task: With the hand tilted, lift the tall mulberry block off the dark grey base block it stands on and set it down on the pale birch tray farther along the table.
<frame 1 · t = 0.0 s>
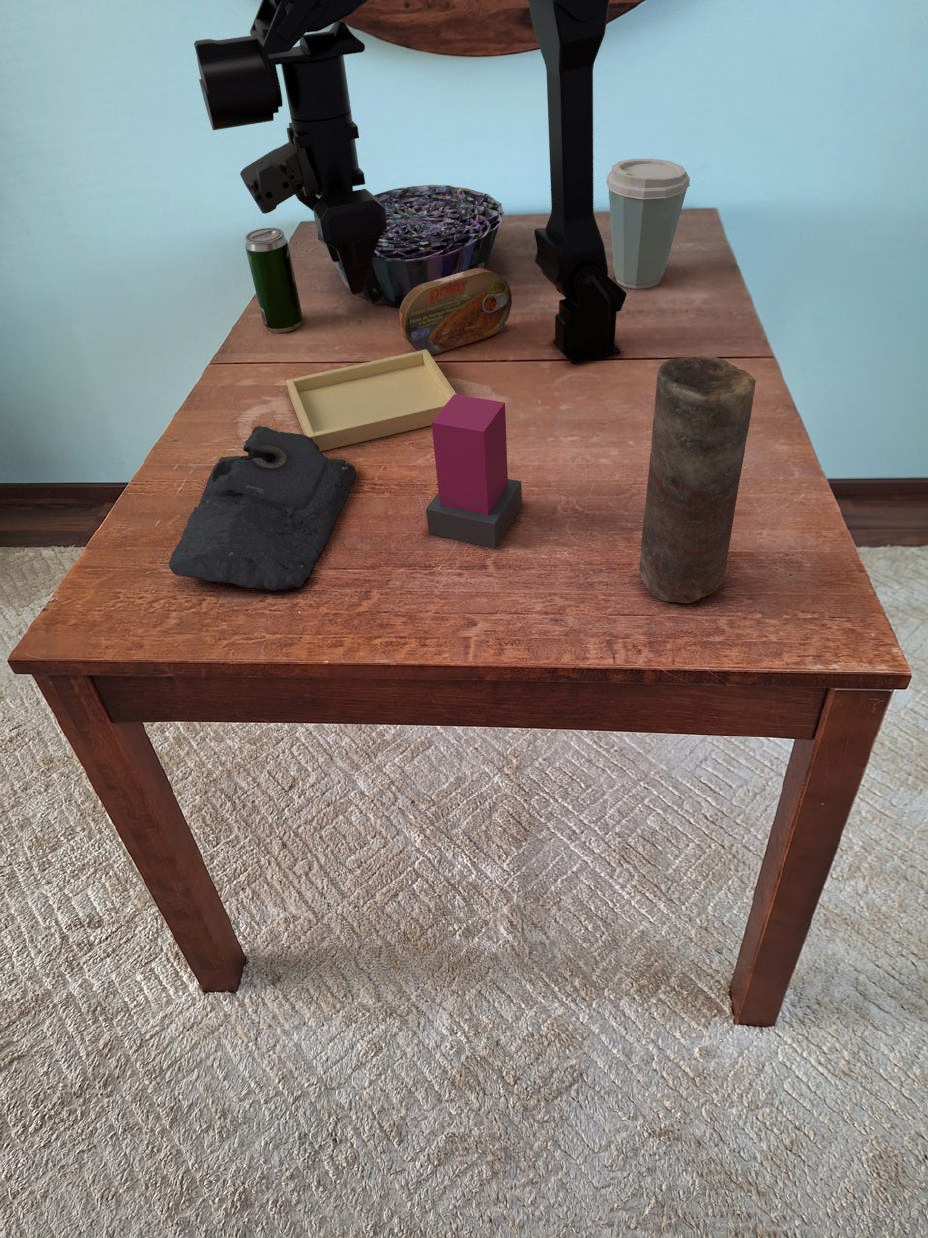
hand: (346, 276, 92), 15 cm above the table, tool pointing down, fingers open, 9 cm apart
tray: (373, 406, 101), on the table
stone cylinder vase: (679, 578, 77), on the table
tin: (457, 342, 112), on the table
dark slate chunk: (263, 522, 87), on the table
beer can: (284, 326, 118), on the table
disposable coffee cup: (640, 281, 121), on the table
mulberry block: (474, 494, 83), point 3 cm above the table, touching base block
decorative bowl: (416, 277, 127), on the table
base block: (475, 519, 85), on the table, touching mulberry block
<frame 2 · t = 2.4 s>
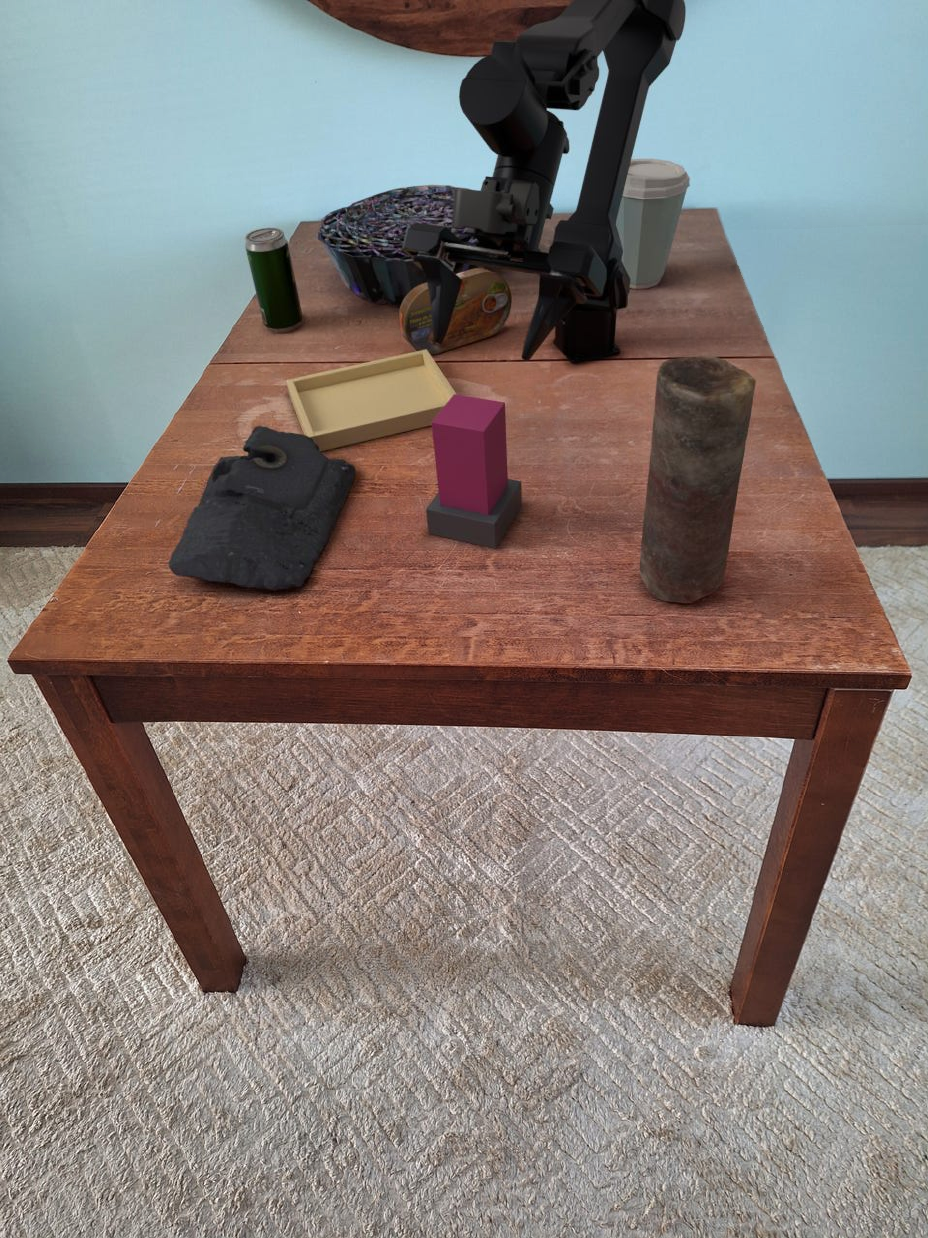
hand: (480, 351, 81), 13 cm above the table, tool tilted 40°, fingers open, 9 cm apart
nothing on the table moved.
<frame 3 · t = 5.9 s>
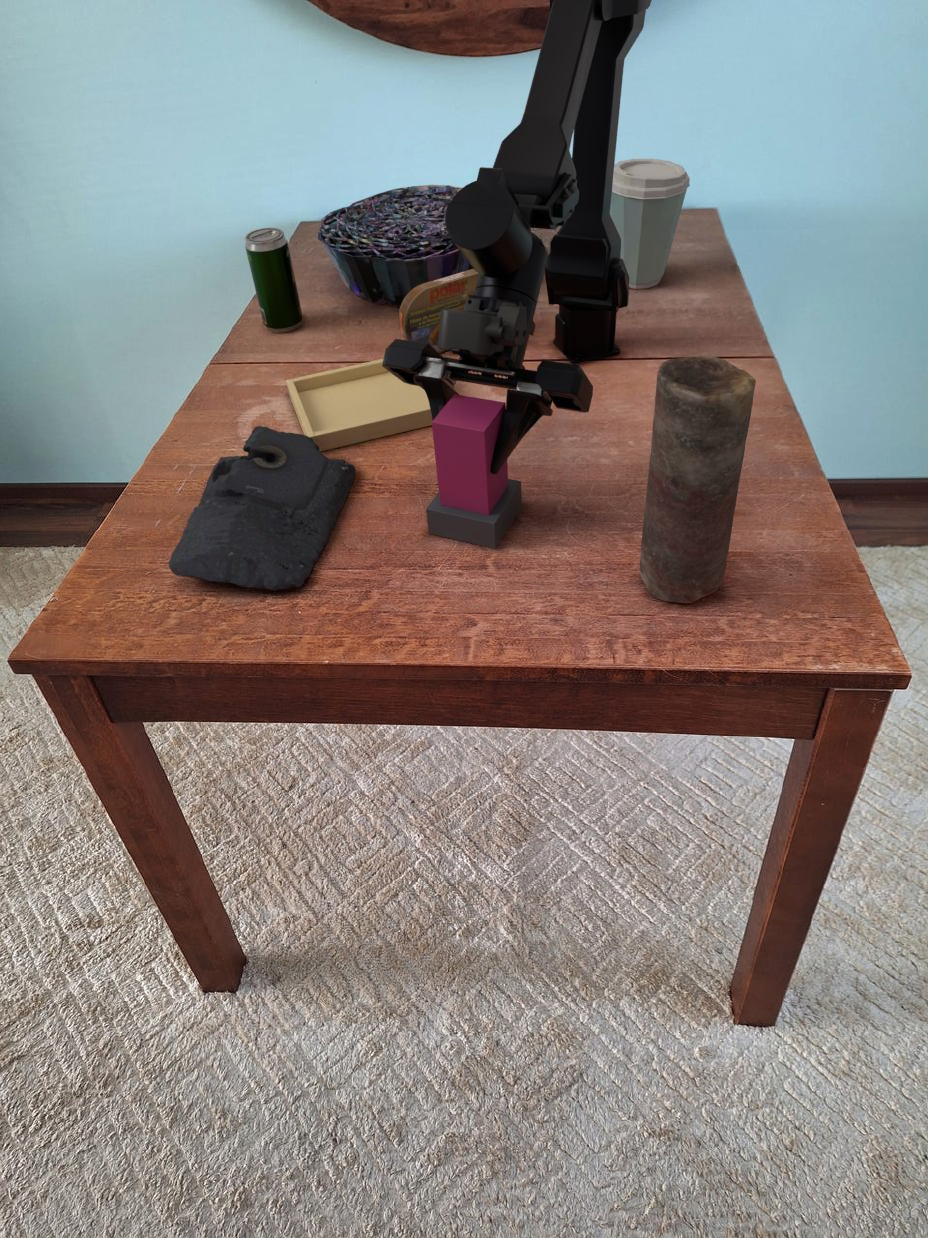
hand: (465, 467, 79), 7 cm above the table, tool tilted 45°, fingers closed on mulberry block, 5 cm apart
mulberry block: (474, 494, 83), point 3 cm above the table, touching base block, gripper
everything else where it was.
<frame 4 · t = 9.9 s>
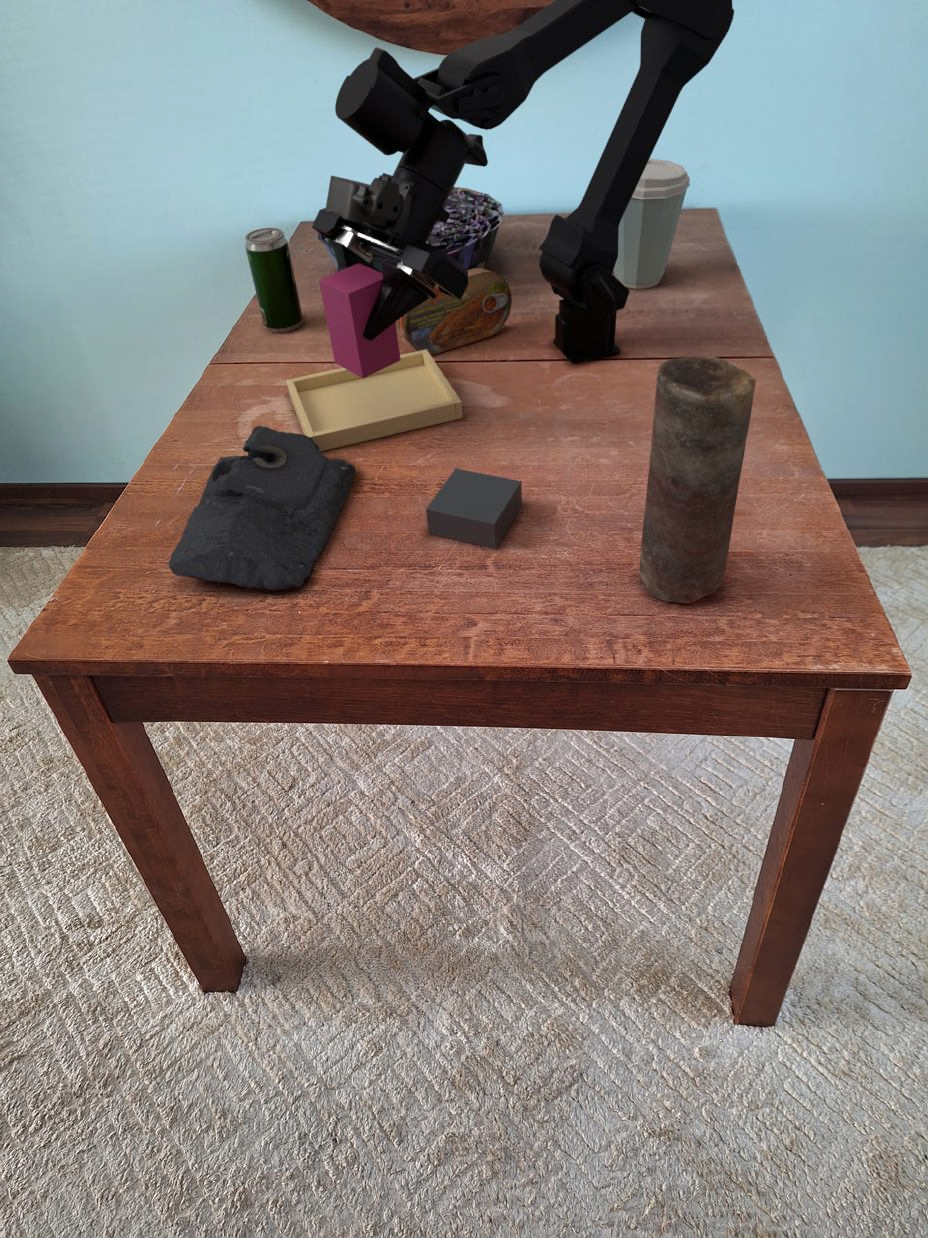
hand: (350, 330, 88), 13 cm above the table, tool tilted 45°, fingers closed on mulberry block, 5 cm apart
mulberry block: (367, 361, 91), point 9 cm above the table, touching gripper
base block: (475, 519, 85), on the table
everything else where it was.
when the fingers open (5 cm above the table, at t = 13.7 s): mulberry block stays where it is, resting on tray.
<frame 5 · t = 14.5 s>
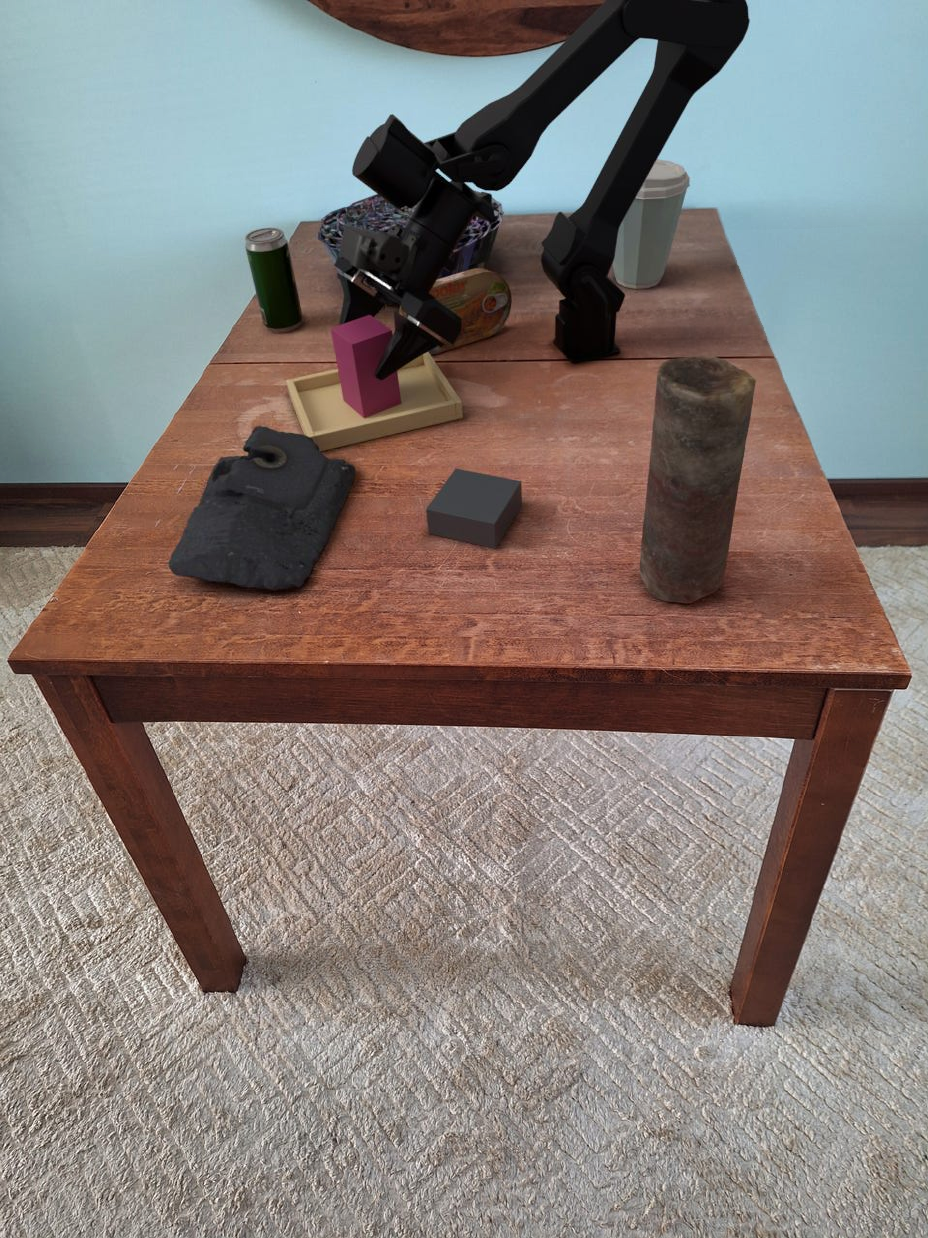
hand: (357, 362, 97), 6 cm above the table, tool tilted 45°, fingers open, 9 cm apart
mulberry block: (372, 402, 101), point 1 cm above the table, touching tray
everything else where it was.
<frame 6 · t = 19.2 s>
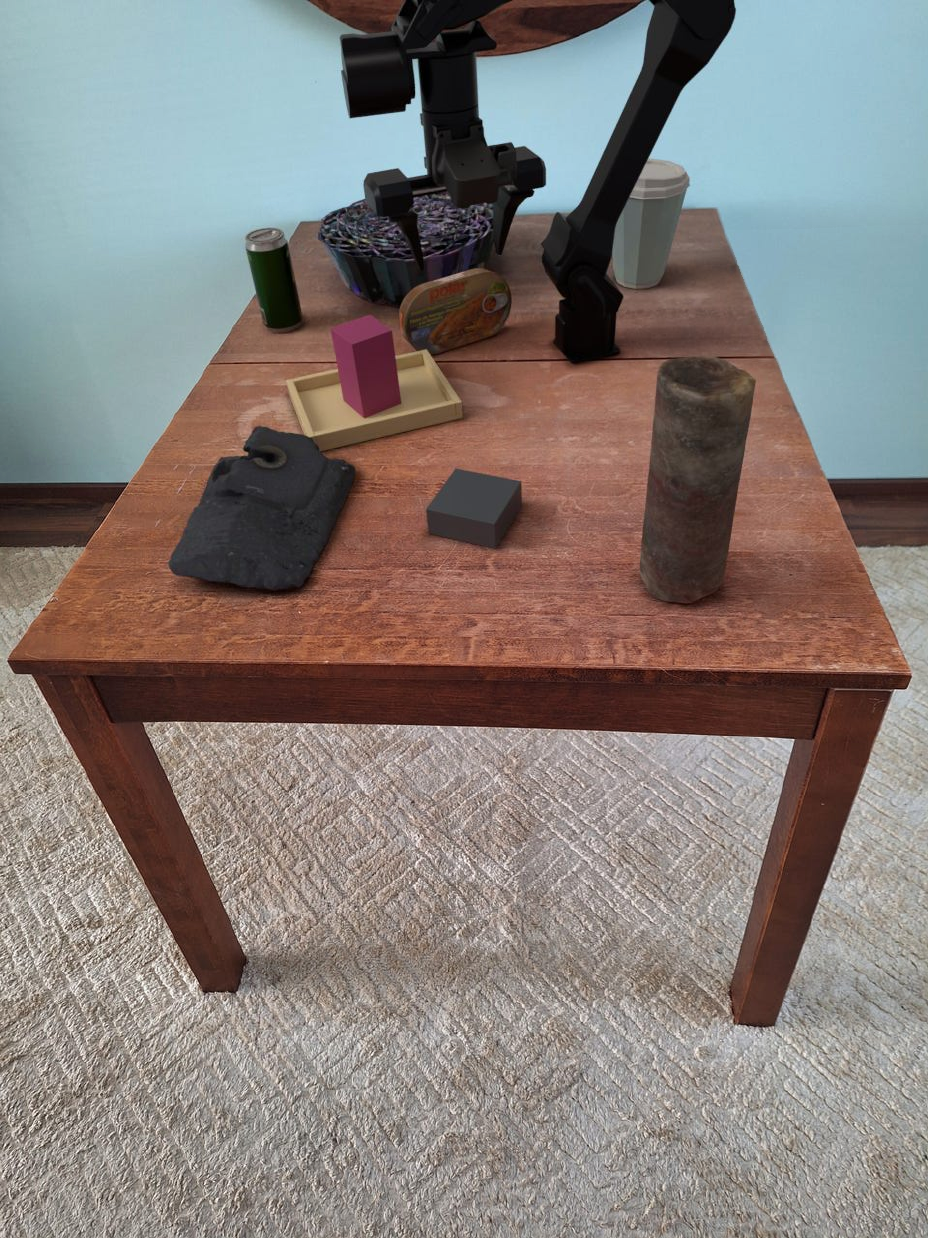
hand: (460, 261, 97), 13 cm above the table, tool pointing down, fingers open, 9 cm apart
nothing on the table moved.
at the end: mulberry block inside the target area on the tray (0.1 cm from its centre), point 0.6 cm above the tray's base; base block moved 0.0 cm from its start; mulberry block touching tray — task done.
